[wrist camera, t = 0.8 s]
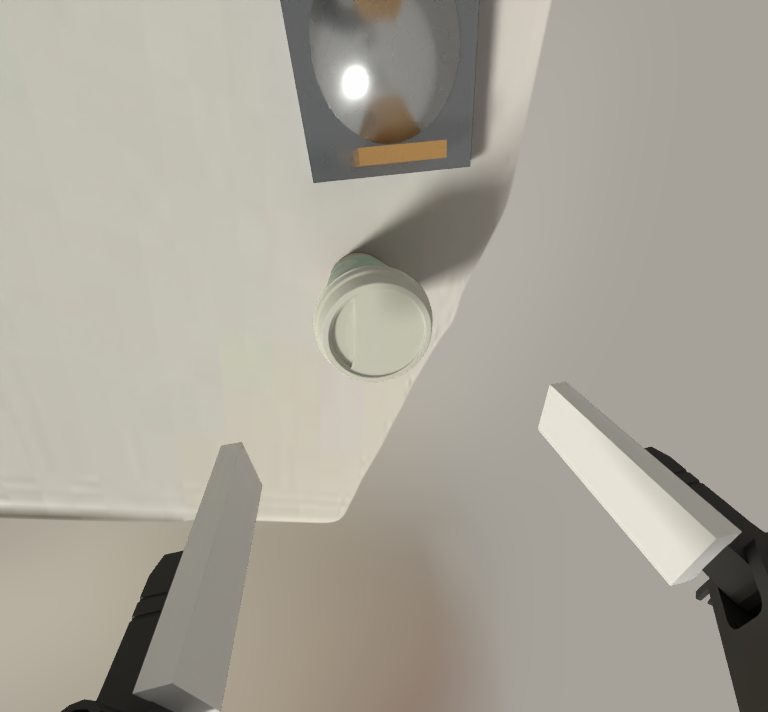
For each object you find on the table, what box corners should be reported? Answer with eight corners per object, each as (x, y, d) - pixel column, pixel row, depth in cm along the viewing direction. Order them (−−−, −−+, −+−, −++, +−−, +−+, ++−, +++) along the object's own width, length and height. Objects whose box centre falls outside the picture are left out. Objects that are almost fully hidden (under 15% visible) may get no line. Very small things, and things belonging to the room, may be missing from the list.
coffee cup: (345, 217, 27) (360, 244, 17) (417, 270, 31) (464, 317, 21) (299, 295, 30) (288, 357, 20) (369, 334, 33) (391, 404, 23)
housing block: (264, -92, 18) (242, -196, 13) (467, -93, 19) (521, -189, 14) (314, 182, 25) (312, 184, 20) (458, 167, 27) (490, 165, 21)
